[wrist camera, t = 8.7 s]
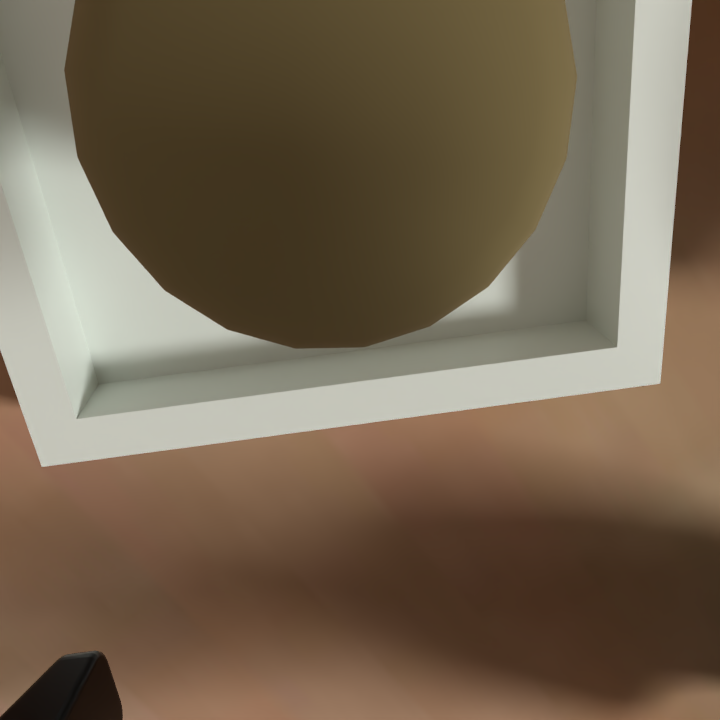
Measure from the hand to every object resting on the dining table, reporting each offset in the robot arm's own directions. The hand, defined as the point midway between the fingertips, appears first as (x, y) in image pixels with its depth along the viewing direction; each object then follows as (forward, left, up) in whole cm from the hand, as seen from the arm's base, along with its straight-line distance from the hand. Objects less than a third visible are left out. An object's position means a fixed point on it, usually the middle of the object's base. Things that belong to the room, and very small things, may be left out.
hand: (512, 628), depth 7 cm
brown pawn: (+1, -5, -12) cm, 13 cm away
